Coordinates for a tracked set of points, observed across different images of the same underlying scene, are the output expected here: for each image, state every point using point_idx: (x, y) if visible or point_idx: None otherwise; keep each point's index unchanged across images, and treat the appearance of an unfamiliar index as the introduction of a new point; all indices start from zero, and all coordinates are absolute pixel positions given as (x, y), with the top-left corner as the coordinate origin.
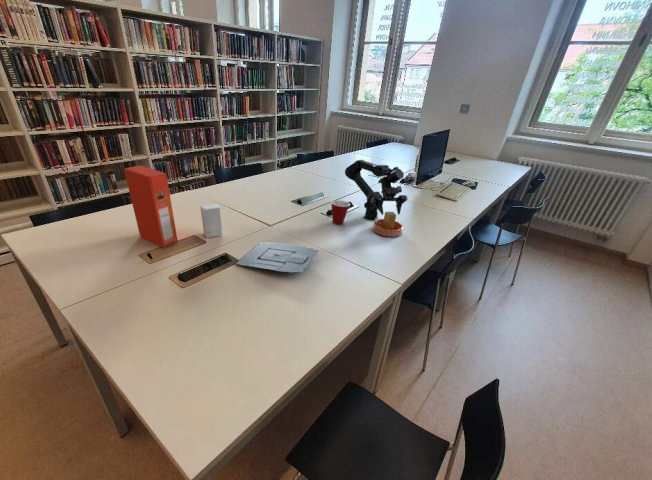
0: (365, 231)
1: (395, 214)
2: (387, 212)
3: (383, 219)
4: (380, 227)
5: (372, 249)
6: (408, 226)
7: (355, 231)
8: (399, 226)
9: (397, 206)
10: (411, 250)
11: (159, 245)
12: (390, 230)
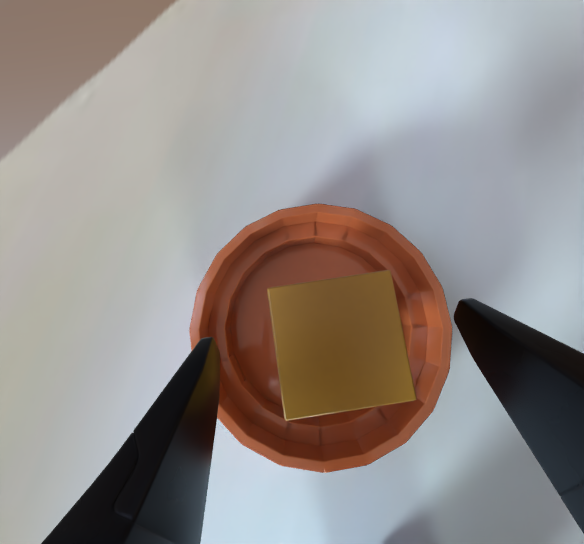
0: None
1: (277, 303)
2: (387, 369)
3: (340, 458)
4: None
5: (459, 63)
6: (105, 446)
7: (553, 297)
8: None
9: (181, 541)
10: (226, 73)
11: None
12: (330, 207)
